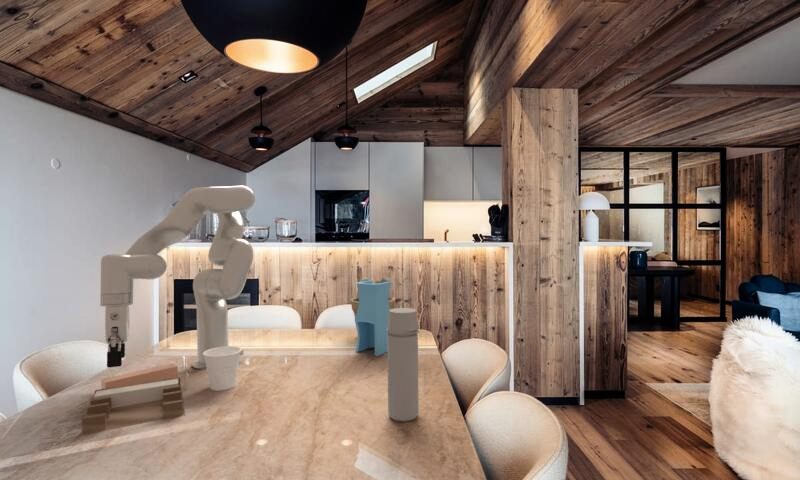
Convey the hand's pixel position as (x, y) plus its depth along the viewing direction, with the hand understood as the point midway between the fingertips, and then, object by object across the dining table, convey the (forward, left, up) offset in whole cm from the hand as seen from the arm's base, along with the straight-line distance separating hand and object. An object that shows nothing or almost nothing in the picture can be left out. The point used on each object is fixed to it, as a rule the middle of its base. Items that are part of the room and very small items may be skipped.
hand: (116, 362), depth 118 cm
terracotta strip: (-6, 0, -9) cm, 11 cm away
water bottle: (-62, +52, -9) cm, 81 cm away
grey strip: (-6, +13, -7) cm, 16 cm away
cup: (-26, +13, -9) cm, 30 cm away
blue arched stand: (-79, -2, -9) cm, 79 cm away
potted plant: (-88, -22, -9) cm, 91 cm away
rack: (-6, +19, -9) cm, 21 cm away
